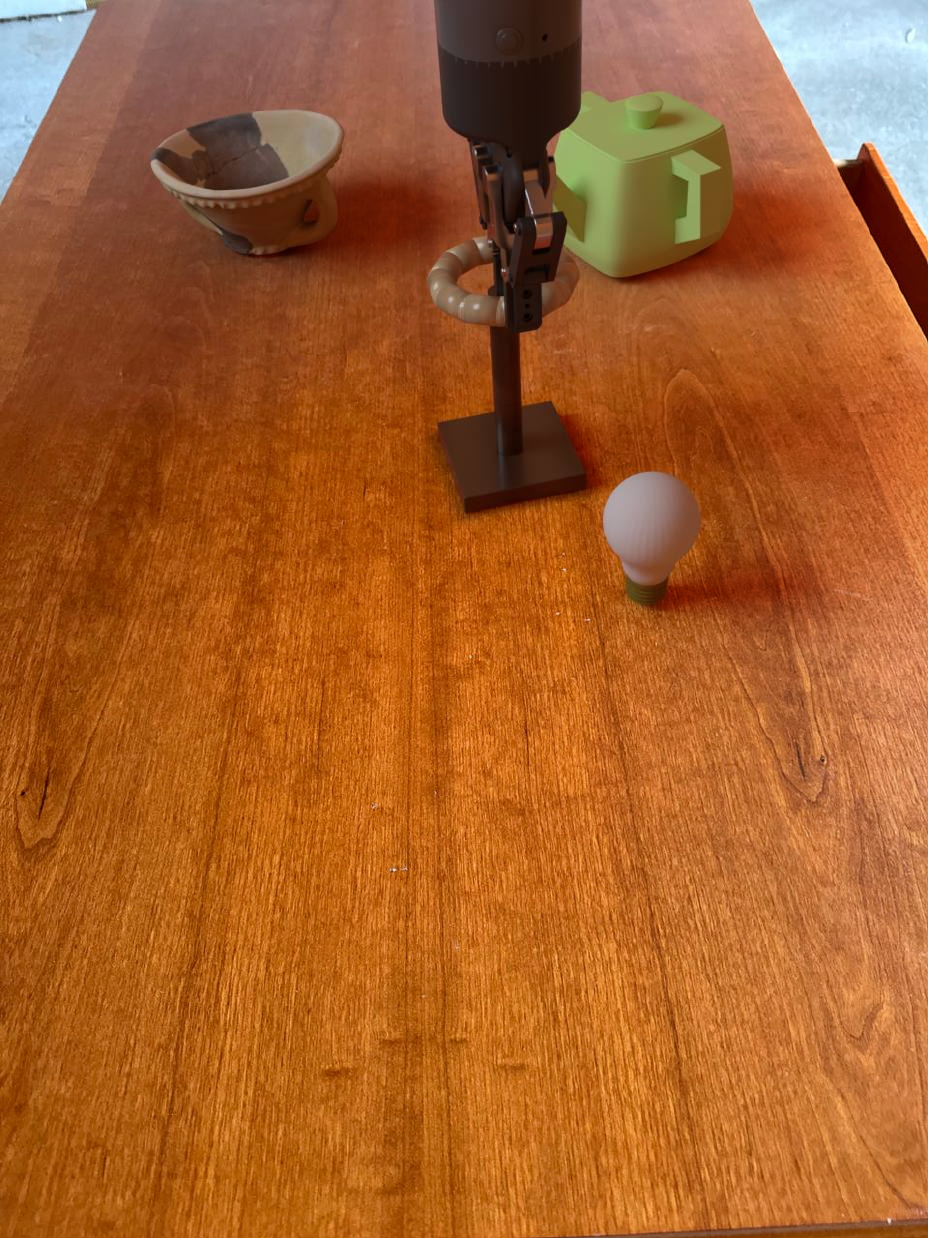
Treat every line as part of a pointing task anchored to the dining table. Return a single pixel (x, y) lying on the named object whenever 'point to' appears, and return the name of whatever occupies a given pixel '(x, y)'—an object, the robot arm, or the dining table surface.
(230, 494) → the dining table surface
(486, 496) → the stand
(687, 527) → the light bulb
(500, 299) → the beige segmented ring
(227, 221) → the bowl
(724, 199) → the teapot
